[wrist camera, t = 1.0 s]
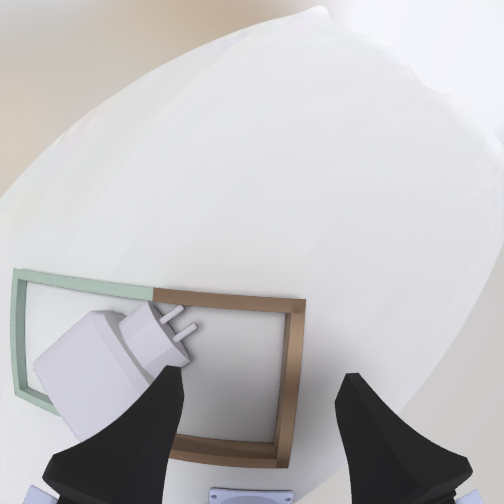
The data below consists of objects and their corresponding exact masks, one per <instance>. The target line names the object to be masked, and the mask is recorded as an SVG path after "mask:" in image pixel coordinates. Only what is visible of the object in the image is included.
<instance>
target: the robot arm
mask: <svg viewBox="0 0 504 504" xmlns="http://www.w3.org/2000/svg"><path fill="white" fill-rule="evenodd" d="M183 402H184V391H183V383H182V376H181V368H180V367H178V366H170V365H166V366H165V367H164V368H163V369H162V371H161V372H160V373H159V375H158V376H157V377H156V379H155V380H154V381H153V382H152V383H151V385H150V386H149V387H148V388H147V389H146V390H145V392H144V393H143V394H142V395H141V396H140V397H139V398H138V399H137V400H136V401H135V402H134V403H133V404H132V405H131V406H130V407H129V408H128V409H127V410H126V411H125V412H124V413H123V414H122V415H121V416H119V417H118V418H117V419H116V420H115V421H113V422H112V423H111V424H110V425H108V426H107V427H105V428H104V429H103V430H101V431H100V432H98V433H97V434H95V435H93V436H92V437H90V438H88V439H86V440H85V441H83V442H81V443H79V444H77V445H75V446H73V447H71V448H69V449H66V450H64V451H61V452H59V453H56V454H54V455H53V456H52V458H51V459H50V461H49V463H48V465H47V467H46V470H45V472H44V474H43V476H42V478H43V480H44V481H45V482H46V483H47V484H48V485H49V486H50V487H51V488H52V489H53V490H55V491H56V492H57V493H58V494H60V497H59V500H58V499H57V498H55V497H53V496H51V495H50V494H48V493H46V492H44V491H42V490H41V489H39V488H37V487H35V486H34V485H30V488H29V490H28V492H27V495H26V497H25V499H24V502H23V504H162V497H163V489H164V482H165V475H166V469H167V463H168V459H169V455H170V451H171V448H172V445H173V441H174V438H175V435H176V431H177V428H178V425H179V421H180V418H181V413H182V408H183ZM335 410H336V418H337V423H338V427H339V431H340V435H341V438H342V442H343V446H344V449H345V453H346V457H347V461H348V465H349V473H350V482H351V494H352V504H483V502H482V500H481V497H480V495H479V492H478V490H477V489H476V490H474V491H472V492H470V493H468V494H466V495H464V496H462V497H461V498H459V499H457V500H456V501H454V498H453V497H454V496H455V495H456V492H455V489H456V488H457V487H458V486H459V485H461V484H462V483H463V482H464V481H466V480H467V479H468V478H469V477H470V476H471V475H472V473H473V470H472V468H471V466H470V463H469V461H468V459H467V458H466V457H464V456H461V455H458V454H456V453H453V452H451V451H448V450H446V449H444V448H442V447H440V446H438V445H436V444H435V443H433V442H431V441H430V440H428V439H427V438H425V437H424V436H422V435H420V434H419V433H418V432H416V431H415V430H414V429H412V428H411V427H410V426H409V425H407V424H406V423H405V422H404V421H403V420H401V419H400V418H399V417H398V416H397V415H396V414H395V413H394V412H393V411H392V410H391V409H390V408H389V407H388V406H387V405H386V404H385V403H384V402H383V401H382V400H381V398H380V397H379V396H378V395H377V394H376V393H375V392H374V391H373V389H372V388H371V387H370V386H369V385H368V384H367V382H366V381H365V380H364V379H363V378H362V377H361V375H360V374H359V373H348V374H346V375H345V377H344V380H343V382H342V385H341V388H340V390H339V393H338V395H337V397H336V400H335ZM212 495H216V496H212ZM287 498H290V499H287ZM293 498H294V493H293V492H291V491H241V490H227V489H217V488H212V489H210V491H209V504H292V503H293Z"/></svg>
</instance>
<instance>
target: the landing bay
mask: <svg viewBox="0 0 504 504" xmlns="http://www.w3.org/2000/svg"><path fill="white" fill-rule="evenodd" d="M27 281H32V282H37V283H42V284H47V285H52V286H58V287H63V288H69V289H75V290H81V291H87V292H93V293H100V294H107V295H113V296H120V297H128V298H135V299H143V300H151V301H152V299H153V288H149V287H140V286H132V285H123V284H115V283H107V282H100V281H92V280H85V279H78V278H71V277H65V276H58V275H52V274H46V273H39V272H34V271H28V270H22V269H16V268H14V269H13V279H12V291H11V311H10V342H11V362H12V374H13V383H14V391H15V395H16V396H18V397H20V398H22V399H24V400H26V401H28V402H30V403H32V404H34V405H36V406H38V407H40V408H42V409H44V410H46V411H49V412H51V413H53V414H56V415H58V416H60V417H61V415H60V414H59V412H58V411H57V409H56V408H55V406H54V405H53V403H52V402H51V400H50V398H49V397H48V396H46V395H44V394H42V393H39V392H37V391H35V390H33V389H31V388H29V387H28V386H27V376H26V363H25V337H24V323H25V297H26V284H27Z"/></svg>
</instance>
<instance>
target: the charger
mask: <svg viewBox="0 0 504 504" xmlns="http://www.w3.org/2000/svg"><path fill="white" fill-rule="evenodd" d="M183 310H184V307H183V305H181V304H179V305H178V306H176V307H175V308H174V309H172V310H171V311H170V312H168V313H167V314H166V315H164V316H162V315H161V314H160V313H159V312H158V311H157V310H156V308H155V307H154V306H153V305H152V304H151V303H150V302H149V301H146V302H145V303H144V304H142V305H141V306H140V307H138V308H137V309H136V310H134V311H133V312H132V313H131V314H129V315H128V316H127V317H125V316H124V315H123V314H120V313H116V312H112V311H90V312H89V313H88V314H87V315H86V316H84V317H83V318H82V319H81V320H80V321H79V322H78V323H76V324H75V325H74V326H73V327H72V328H71V329H69V330H68V331H67V332H66V333H65V334H64V335H63V336H62V337H60V338H59V339H58V340H57V341H56V342H55V343H54V344H53V345H52V346H50V347H49V348H48V349H47V350H46V351H45V352H44V353H43V354H42V355H41V356H40V357H38V358H37V359H36V360H35V361H34V363H33V366H34V371H35V373H36V376H37V378H38V380H39V381H40V383H41V385H42V387H43V388H44V390H45V392H46V393H47V395H48V397H49V398H50V400H51V402H52V403H53V405H54V406H55V408H56V409H57V411H58V412H59V414H60V415H61V417H62V418H63V420H64V421H65V423H66V424H67V425H68V427H69V428H70V430H71V431H72V432H73V434H74V435H75V436H76V438H77V439H78V440H79V441H80V442H83V441H85V440H86V439H88V438H90V437H92V436H93V435H95V434H97V433H98V432H100V431H101V430H103V429H104V428H105V427H107V426H108V425H110V424H111V423H112V422H113V421H115V420H116V419H117V418H118V417H119V416H121V415H122V414H123V413H124V412H125V411H126V410H127V409H128V408H129V407H130V406H131V405H132V404H133V403H134V402H135V401H136V400H137V399H138V398H139V397H140V396H141V395H142V394H143V393H144V392H145V390H146V389H147V388H148V387H149V386H150V385H151V383H152V382H153V381H154V380H155V379H156V377H157V376H158V375H159V373H160V372H161V371H162V369H163V368H164V367H165V366H166V365H170V366H178V367H180V368H182V367H183V366H185V365H186V364H187V363H189V362H190V359H189V356H188V354H187V352H186V350H185V348H184V347H183V345H182V343H181V341H180V340H182V339H183V338H184V337H186V336H187V335H189V334H190V333H191V332H193V331H194V330H196V329H197V325H196V324H195V323H192V324H190V325H189V326H188V327H186V328H185V329H184V330H182V331H181V332H179V333H178V334H177V335H176V334H175V333H174V332H173V330H172V329H171V327H170V326H169V324H168V323H167V322H168V321H169V320H170V319H172V318H173V317H175V316H176V315H177V314H179V313H180V312H181V311H183Z"/></svg>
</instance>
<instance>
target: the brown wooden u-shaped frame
mask: <svg viewBox="0 0 504 504" xmlns="http://www.w3.org/2000/svg"><path fill="white" fill-rule="evenodd" d="M152 301H154V302H163V303H172V304H181V305H191V306H201V307H212V308H224V309H236V310H250V311H266V312H284V313H286V316H285V330H284V344H283V356H282V368H281V379H280V390H279V401H278V410H277V420H276V429H275V438H274V443H261V442H241V441H228V440H218V439H209V438H201V437H194V436H187V435H181V434H176V435H175V438H174V441H173V445H172V448H171V451H170V455H169V458H171V459H177V460H183V461H189V462H195V463H202V464H210V465H219V466H230V467H244V468H288V466H289V460H290V453H291V446H292V439H293V432H294V424H295V416H296V408H297V399H298V390H299V381H300V371H301V360H302V348H303V336H304V322H305V307H306V299H288V298H271V297H255V296H240V295H227V294H215V293H203V292H192V291H181V290H171V289H161V288H153V299H152Z"/></svg>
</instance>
